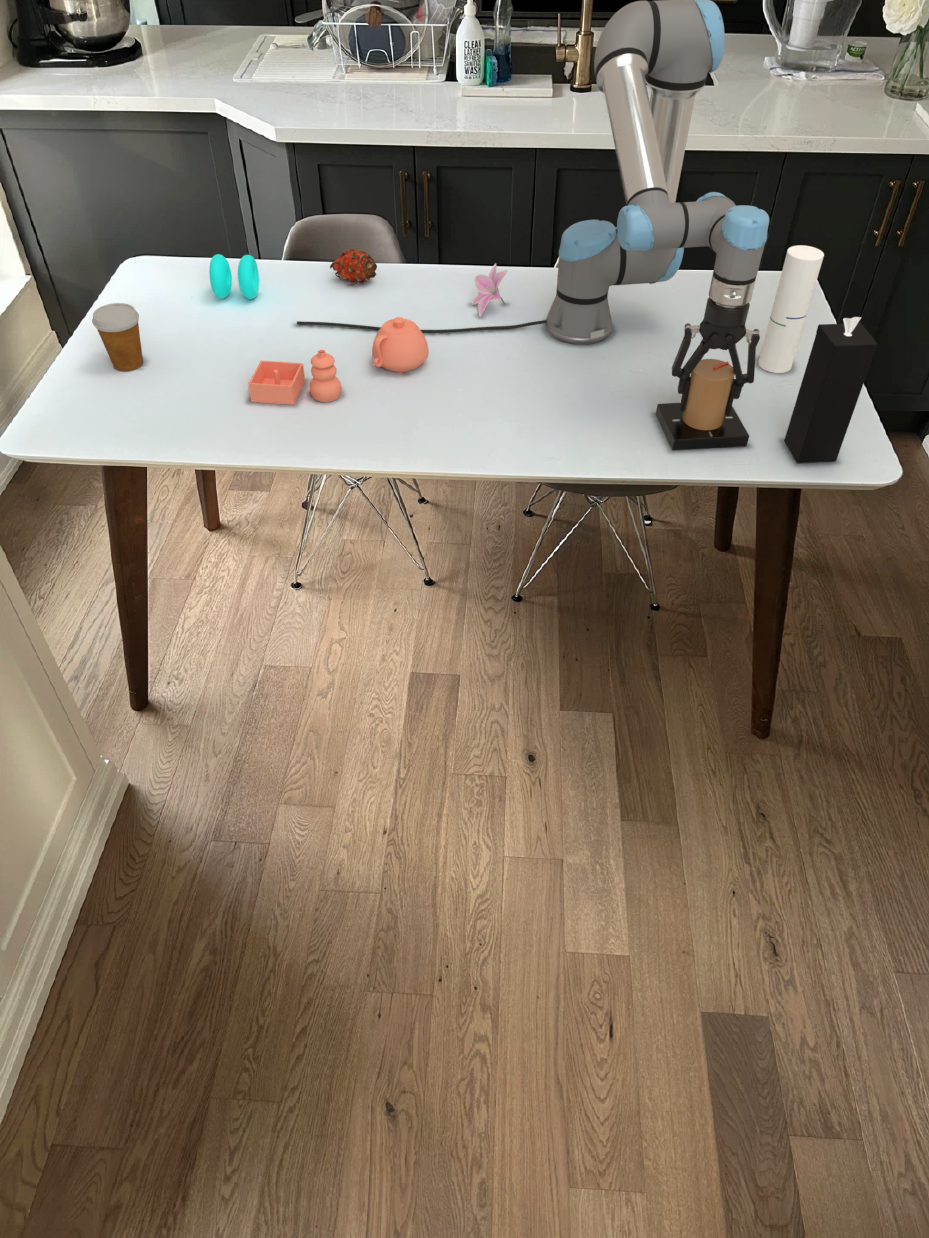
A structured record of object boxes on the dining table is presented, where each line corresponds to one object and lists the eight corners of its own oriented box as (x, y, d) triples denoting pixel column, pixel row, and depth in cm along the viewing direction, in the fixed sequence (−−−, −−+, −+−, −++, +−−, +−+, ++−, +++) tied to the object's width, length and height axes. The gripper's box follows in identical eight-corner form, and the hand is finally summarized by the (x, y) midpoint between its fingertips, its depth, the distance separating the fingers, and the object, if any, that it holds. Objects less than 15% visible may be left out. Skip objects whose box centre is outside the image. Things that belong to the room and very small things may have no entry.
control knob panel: (672, 450, 179) (674, 439, 177) (655, 414, 188) (657, 403, 186) (746, 446, 180) (749, 435, 178) (726, 410, 189) (729, 399, 188)
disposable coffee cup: (159, 359, 202) (146, 307, 194) (131, 379, 196) (116, 327, 187) (125, 349, 205) (111, 298, 196) (96, 369, 199) (80, 317, 190)
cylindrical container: (792, 374, 200) (825, 262, 182) (758, 371, 201) (788, 258, 183) (790, 358, 205) (822, 247, 187) (757, 355, 206) (786, 244, 188)
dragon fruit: (381, 291, 230) (336, 294, 232) (383, 259, 231) (338, 263, 234) (371, 273, 222) (324, 276, 224) (373, 240, 223) (326, 244, 226)
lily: (476, 296, 227) (461, 268, 219) (521, 281, 223) (507, 252, 215) (477, 332, 222) (460, 305, 214) (522, 318, 217) (508, 289, 210)
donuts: (255, 306, 220) (248, 266, 213) (213, 306, 220) (205, 265, 213) (262, 287, 227) (255, 247, 220) (221, 287, 227) (214, 247, 220)
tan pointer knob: (702, 435, 178) (714, 383, 171) (673, 416, 183) (683, 365, 175) (731, 422, 182) (744, 370, 174) (702, 404, 186) (713, 353, 178)
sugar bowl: (440, 362, 202) (439, 319, 195) (394, 386, 195) (392, 342, 188) (401, 343, 208) (399, 300, 201) (355, 366, 201) (351, 322, 194)
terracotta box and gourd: (251, 401, 190) (243, 358, 183) (263, 378, 197) (256, 335, 190) (336, 408, 189) (332, 365, 182) (346, 384, 195) (342, 341, 188)
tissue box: (783, 440, 182) (823, 307, 162) (821, 439, 182) (866, 305, 162) (796, 464, 176) (840, 328, 156) (836, 462, 177) (884, 326, 157)
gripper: (670, 304, 163) (650, 414, 179) (790, 314, 161) (759, 425, 177) (670, 285, 169) (651, 394, 185) (787, 295, 166) (757, 404, 182)
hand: (704, 409), depth 181 cm, fingers closed on tan pointer knob, 8 cm apart
